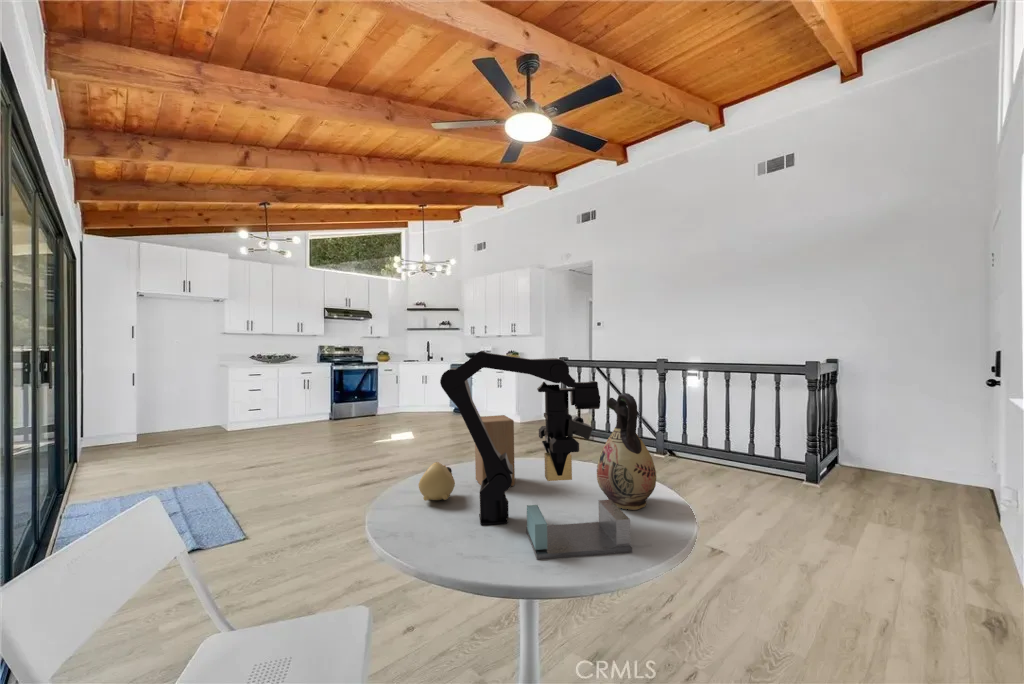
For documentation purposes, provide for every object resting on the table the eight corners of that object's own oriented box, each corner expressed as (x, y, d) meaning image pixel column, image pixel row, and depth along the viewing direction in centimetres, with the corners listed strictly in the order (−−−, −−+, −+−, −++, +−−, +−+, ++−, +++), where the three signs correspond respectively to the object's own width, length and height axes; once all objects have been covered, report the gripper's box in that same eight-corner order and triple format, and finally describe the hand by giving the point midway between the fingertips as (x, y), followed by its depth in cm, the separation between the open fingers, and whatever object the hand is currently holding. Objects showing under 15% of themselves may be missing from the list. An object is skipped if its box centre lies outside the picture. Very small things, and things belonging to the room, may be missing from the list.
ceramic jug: (588, 497, 130) (586, 389, 130) (638, 492, 134) (637, 387, 133) (614, 520, 114) (613, 397, 113) (672, 514, 117) (670, 394, 117)
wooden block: (475, 480, 148) (474, 416, 148) (505, 476, 151) (504, 414, 151) (482, 489, 138) (481, 422, 138) (515, 486, 141) (514, 419, 141)
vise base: (536, 559, 94) (536, 527, 94) (526, 531, 108) (525, 503, 108) (632, 552, 97) (631, 521, 97) (609, 525, 111) (609, 498, 111)
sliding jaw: (535, 549, 96) (535, 524, 96) (527, 528, 107) (526, 505, 107) (547, 549, 96) (547, 523, 96) (537, 527, 107) (537, 504, 107)
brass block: (571, 479, 114) (571, 455, 114) (547, 481, 113) (547, 456, 113) (568, 475, 117) (568, 451, 117) (544, 476, 117) (544, 452, 117)
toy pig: (457, 492, 137) (456, 455, 136) (453, 507, 125) (452, 467, 124) (423, 492, 136) (422, 456, 136) (415, 507, 124) (415, 467, 124)
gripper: (600, 414, 107) (601, 483, 107) (578, 403, 125) (579, 461, 125) (552, 416, 105) (553, 485, 106) (537, 404, 124) (538, 463, 124)
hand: (558, 473), depth 115 cm, fingers closed on brass block, 3 cm apart
